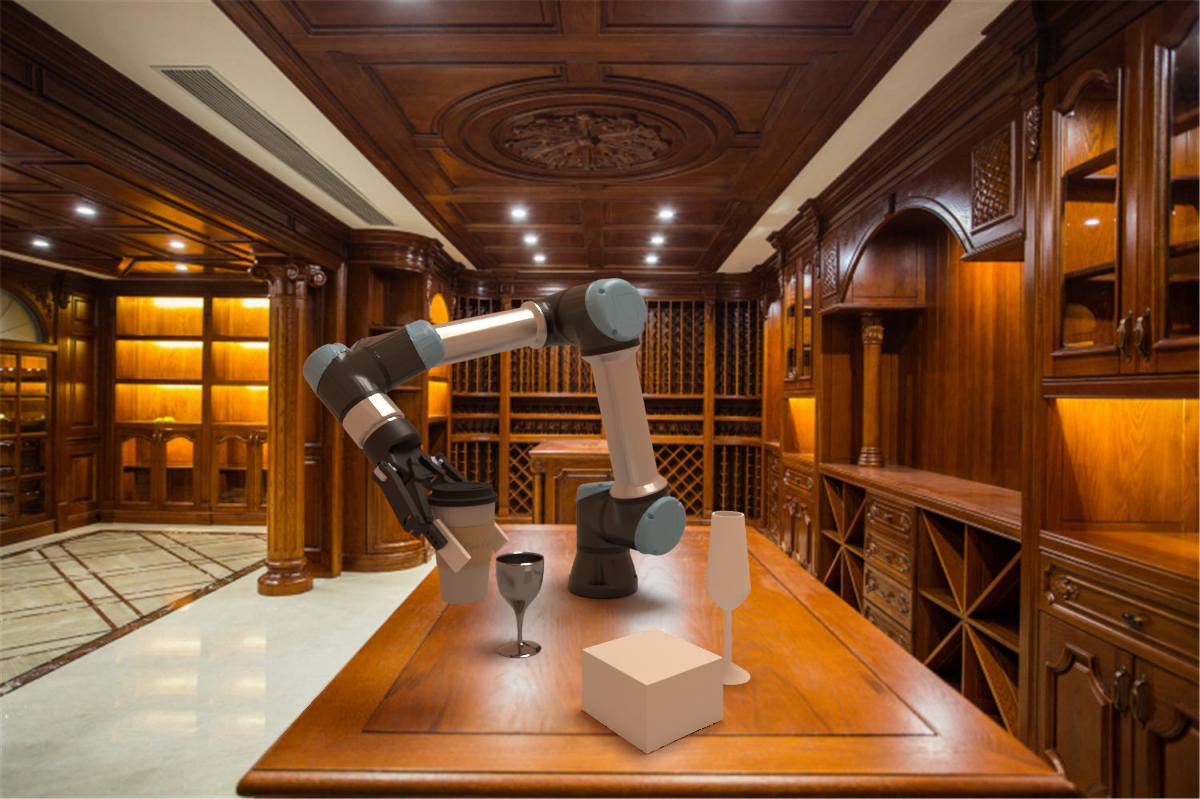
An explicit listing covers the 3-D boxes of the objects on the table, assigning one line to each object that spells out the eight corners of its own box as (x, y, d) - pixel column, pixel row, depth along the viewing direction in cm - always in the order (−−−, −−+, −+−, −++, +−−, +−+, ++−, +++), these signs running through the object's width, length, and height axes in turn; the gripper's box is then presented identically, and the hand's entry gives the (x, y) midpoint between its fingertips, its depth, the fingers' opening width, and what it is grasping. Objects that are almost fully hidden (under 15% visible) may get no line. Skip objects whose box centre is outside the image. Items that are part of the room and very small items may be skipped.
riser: (581, 709, 83) (581, 649, 83) (654, 682, 91) (655, 627, 91) (646, 754, 73) (646, 685, 73) (723, 719, 81) (723, 657, 81)
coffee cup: (483, 611, 79) (482, 492, 79) (414, 607, 81) (413, 490, 80) (509, 588, 88) (508, 481, 88) (446, 584, 90) (445, 480, 90)
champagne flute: (741, 689, 89) (742, 520, 89) (697, 677, 93) (698, 515, 93) (756, 671, 95) (757, 512, 95) (714, 661, 98) (715, 508, 98)
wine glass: (551, 643, 106) (551, 554, 106) (531, 661, 98) (531, 566, 98) (509, 637, 108) (509, 550, 108) (486, 654, 101) (486, 561, 101)
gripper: (416, 445, 100) (506, 553, 94) (308, 460, 79) (416, 599, 74) (445, 412, 98) (538, 520, 93) (342, 418, 77) (454, 558, 72)
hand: (484, 555), depth 83 cm, fingers closed on coffee cup, 9 cm apart
